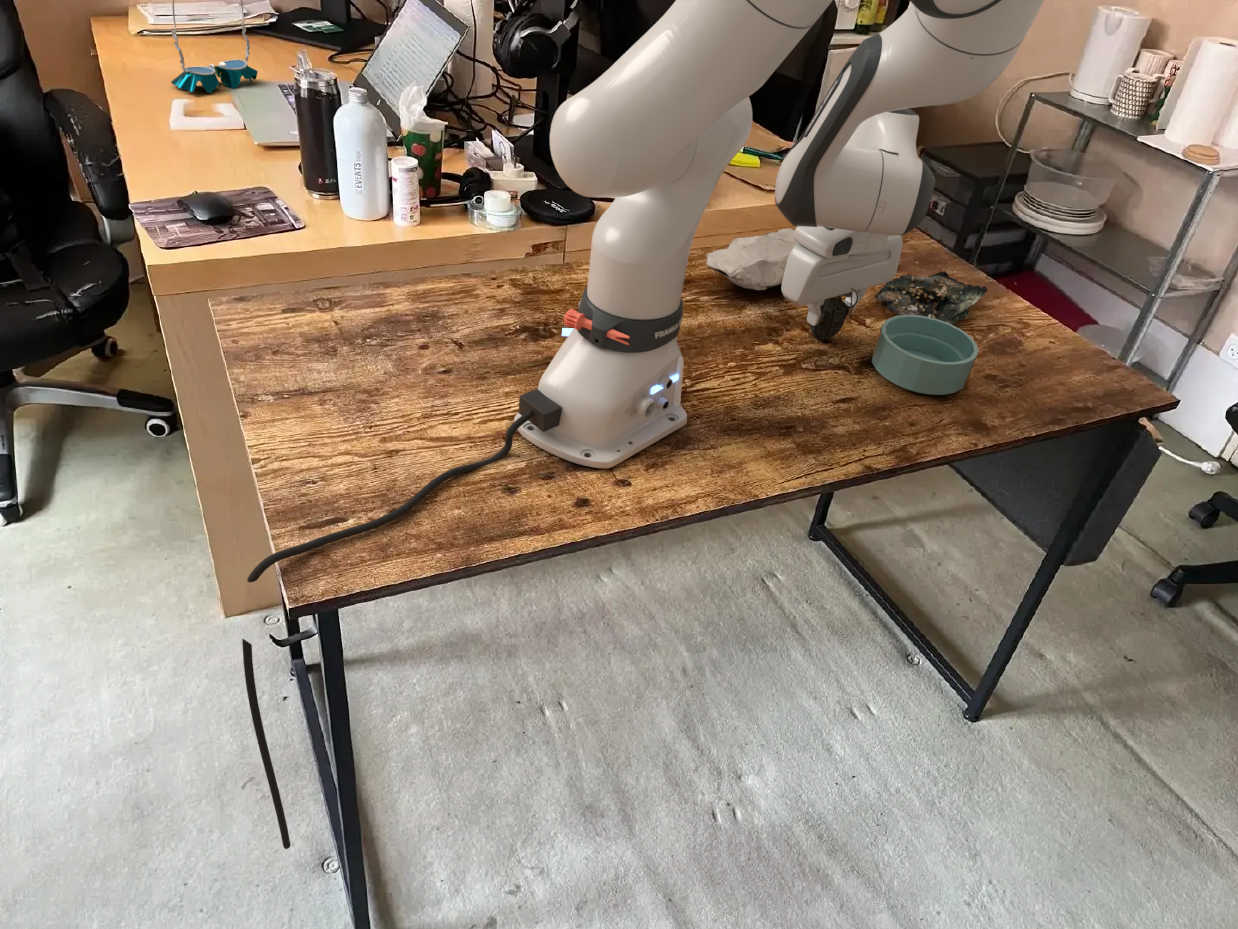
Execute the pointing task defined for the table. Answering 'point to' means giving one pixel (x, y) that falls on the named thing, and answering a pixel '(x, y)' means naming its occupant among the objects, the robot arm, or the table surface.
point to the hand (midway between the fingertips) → (829, 318)
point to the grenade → (832, 317)
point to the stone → (755, 259)
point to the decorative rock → (930, 296)
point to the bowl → (924, 354)
